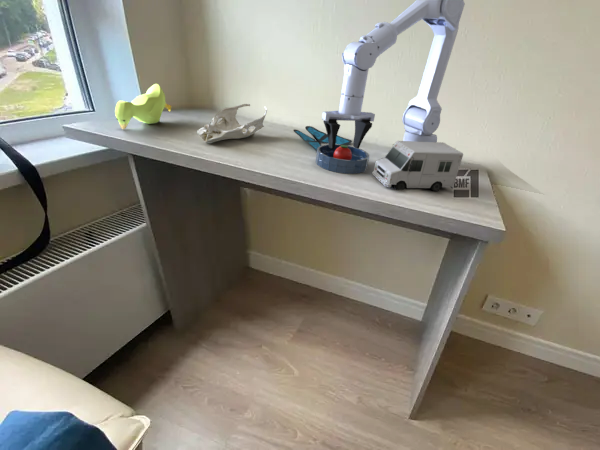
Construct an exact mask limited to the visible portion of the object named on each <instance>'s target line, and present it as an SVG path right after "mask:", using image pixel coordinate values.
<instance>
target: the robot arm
mask: <svg viewBox="0 0 600 450" xmlns="http://www.w3.org/2000/svg"><path fill="white" fill-rule="evenodd" d="M465 5H466V4H465V1H464V0H415V1H414V2H412V3H411V4H410V5H409V6H408V7H407V8H406V9H404V10H403V11H402V12H401V13H400V14H398V15H397V16H396V17H395V18H394V19H392V21H390V22H388V21H381V22H379V21H378V22H377V23H376V24H375V25H374V28H373V29H372V30H371V31H369V32H368V33H366V34H361V36H360V37H359V40H358V41H352V42H350V43H348V44H347V45H346V47H345V49H344V51H343V52H342V53H341V61H342V63H343V66H344V67H343V79H342V85H341V91H340V92H341V93H340V99H339V107H338V110H330V111H329V110H328V111H322V114H321V120H323V124H324V127H325V131H326V134H327V135H328V145H329V147H330V148H331V149H334V148H335V143H336V137H337V135H338V133H339V131H340V127H341V124H340V123H339V121H345V122H346V121H350V122H351V121H353V122H354V136H353V140H352V147H355V148H359V149H360V147H361V144H362V142H363V141H364V138H365V136H366V135H367V133H368V132H369V131H370V130H371V128H372V127H373V122H374V121H375V117H376V114H375V113H374V112H370V111H369V112H368V111H362V109H363V104H364V97H365V91H366V86H367V80H368V75H369V69H371V68H373V67H374V65H375V63H376V61H377V58H379V57H380V55H381V56H382V54H383V53H385V52H386V51H388V50H389V49H390V48H391V47H393V46H394V45H395V44H396V42H397V40H398V36H399V35H400V34H402V33H403V32H405V31H406V30H408V29H409V28H411V27H413V26H414V25H415V24H418V22H420V21H423V22H424V23H425V24H426V25H428V26H429V27H430V29H431V31H432V33H433V39H432V43H431V46H430V50H429V52H428V56H427V60H426V64H425V67H424V70H423V73H422V77H421V80H420V85H419V88H418V90H417V95H416V96H414V97H413V98H411V99H410V100H409V101H408V105H407V107H406V109H405V110H404V112H403V114H402V119H401V120H402V123H403V126H404V127H403V129H404V130H405V131H404V134H403V138H402V141H416V142H438V135H437V134H433V133H435V132H436V131H437V130H438V129H439V126H440V124H441V113H442V110H443V109H442V107H441V105H440V103H439V101H438V96H439V93H440V90H441V86H442V83H443V80H444V77H445V73H446V70H447V67H448V64H449V60H450V58H451V55H452V53H453V47H454V45H455V42H456V38H457V35H458V32H459V26H460V22H461V18H462V14H463V11H464V7H465Z"/></svg>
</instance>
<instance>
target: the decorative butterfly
mask: <svg viewBox="0 0 600 450" xmlns="http://www.w3.org/2000/svg"><path fill="white" fill-rule="evenodd" d="M305 130H306V131H307V132H308V133H309V134H310V135H311V136H312V137H311V136H309V135H308V134H306V133H305V132H303V131H300V130H298V129H295V128H294V129H293V133H294V134H296V135H297V136H298V137H299V138H301V140H302V141H304V142H307V144H308V145H310V146H311V147H312V148H313V149H314V150H315V151H316V152H317V148H318V147H319V146H322V145H323V144H325V145H327V144H328V135H327V132H323V131H321V130H319V129H317V128H316V127H314V126H311V125H307V126H305ZM335 144H340V145H347V146H350V145H351V144H353V140H352V139H349V138H346V137H342V136H341V135H338V134H337V137H336V143H335Z"/></svg>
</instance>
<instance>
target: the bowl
mask: <svg viewBox="0 0 600 450" xmlns="http://www.w3.org/2000/svg"><path fill="white" fill-rule="evenodd" d="M321 145H322V146H319V147H318V148H317V151H316V153H315V163H316V165H317V166H318V167H320V168H322V169H324V170H327V171H329V172H334V173H338V174H347V175H349V174H350V175H354V174H362V173H364V172H366V171H367V170H368V166H369V161H370V154H369V153H368V152H367V151H366V150H363V149H362V148H360V147H359V148H355V147H354V146H353V145H352V146H351V145H347V146H348V148H349V149H350V150H351V153H352V158H351V160H343V159H337V158H334V152H335V150H336V149H337V148H338V147H340V146H341V145H340V144H335V148H334V149H331V148H330V147H329V145H328V144H321Z"/></svg>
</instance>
